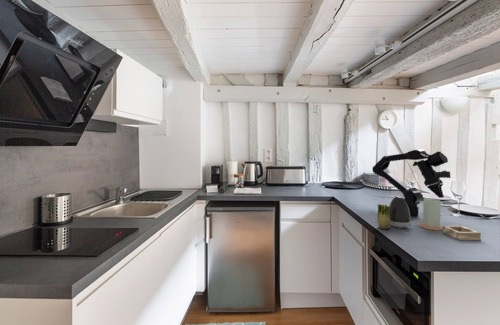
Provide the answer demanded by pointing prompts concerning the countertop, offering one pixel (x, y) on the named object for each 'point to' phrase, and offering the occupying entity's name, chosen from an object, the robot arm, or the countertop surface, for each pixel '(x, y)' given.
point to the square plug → (431, 212)
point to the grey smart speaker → (399, 213)
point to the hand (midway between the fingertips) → (441, 197)
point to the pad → (430, 227)
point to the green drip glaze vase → (383, 216)
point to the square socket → (461, 232)
